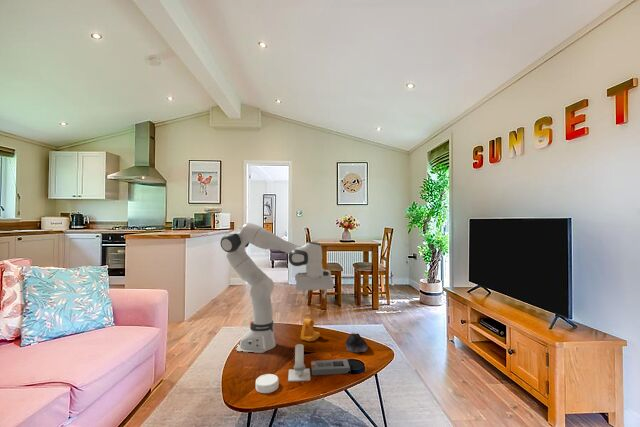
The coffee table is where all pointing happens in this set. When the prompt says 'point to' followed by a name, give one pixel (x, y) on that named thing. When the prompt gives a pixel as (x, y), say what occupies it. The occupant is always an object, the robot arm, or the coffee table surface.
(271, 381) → the coaster
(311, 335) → the bracket
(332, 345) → the coffee table surface
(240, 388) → the coffee table surface
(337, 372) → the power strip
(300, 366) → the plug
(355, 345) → the crystal cluster
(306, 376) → the mat
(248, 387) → the coffee table surface
